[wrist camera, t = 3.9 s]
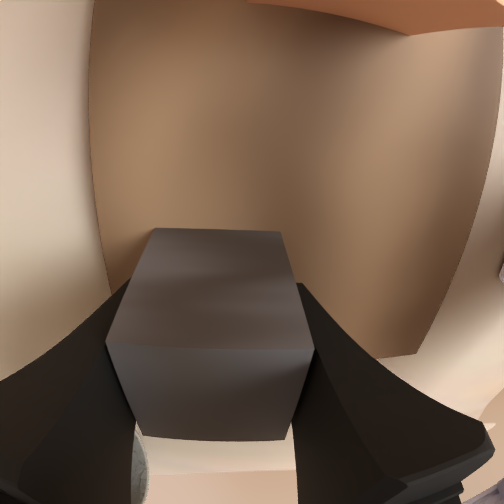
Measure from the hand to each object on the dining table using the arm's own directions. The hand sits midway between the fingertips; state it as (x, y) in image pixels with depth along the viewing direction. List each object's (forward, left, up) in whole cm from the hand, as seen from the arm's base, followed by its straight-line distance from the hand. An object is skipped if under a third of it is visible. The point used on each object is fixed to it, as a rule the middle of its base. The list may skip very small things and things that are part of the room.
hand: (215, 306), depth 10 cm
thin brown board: (-3, -6, -2) cm, 8 cm away
